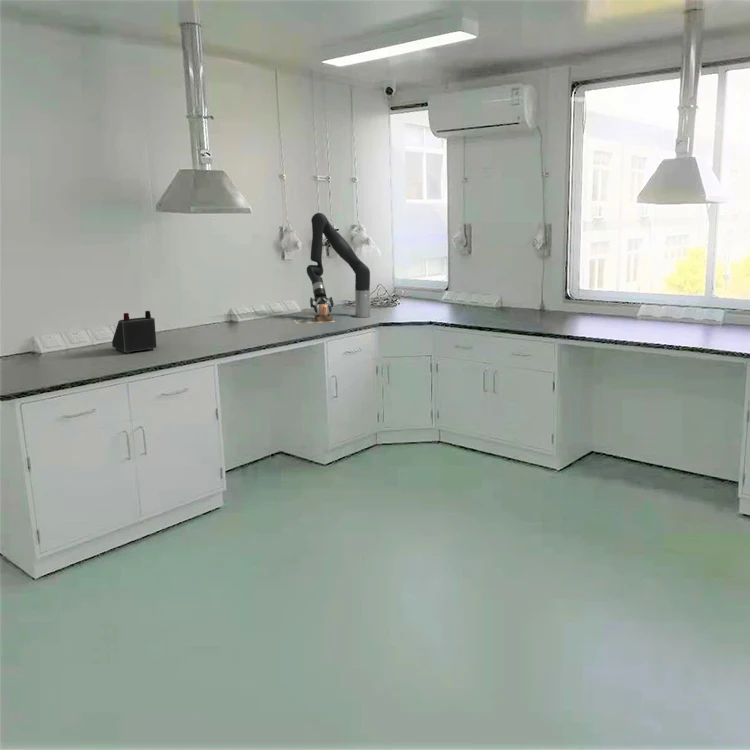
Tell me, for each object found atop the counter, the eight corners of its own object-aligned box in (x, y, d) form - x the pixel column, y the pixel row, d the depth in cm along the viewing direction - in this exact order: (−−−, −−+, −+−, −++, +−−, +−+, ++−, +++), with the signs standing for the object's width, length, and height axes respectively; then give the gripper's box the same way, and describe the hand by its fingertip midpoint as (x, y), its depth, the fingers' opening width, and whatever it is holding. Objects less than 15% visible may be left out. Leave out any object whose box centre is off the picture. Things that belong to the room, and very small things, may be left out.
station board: (330, 319, 437) (330, 313, 436) (335, 323, 424) (335, 316, 423) (292, 321, 430) (292, 315, 429) (297, 325, 417) (296, 318, 416)
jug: (326, 319, 432) (326, 303, 429) (329, 321, 425) (329, 305, 422) (318, 319, 430) (318, 303, 428) (321, 321, 423) (321, 305, 421)
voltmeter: (143, 345, 359) (140, 307, 354) (156, 350, 347) (154, 311, 342) (112, 349, 349) (109, 310, 344) (125, 355, 337) (121, 314, 332)
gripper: (308, 287, 429) (313, 308, 421) (331, 287, 433) (335, 307, 425) (307, 295, 435) (311, 316, 427) (329, 294, 439) (333, 315, 432)
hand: (323, 312), depth 426 cm, fingers open, 8 cm apart
